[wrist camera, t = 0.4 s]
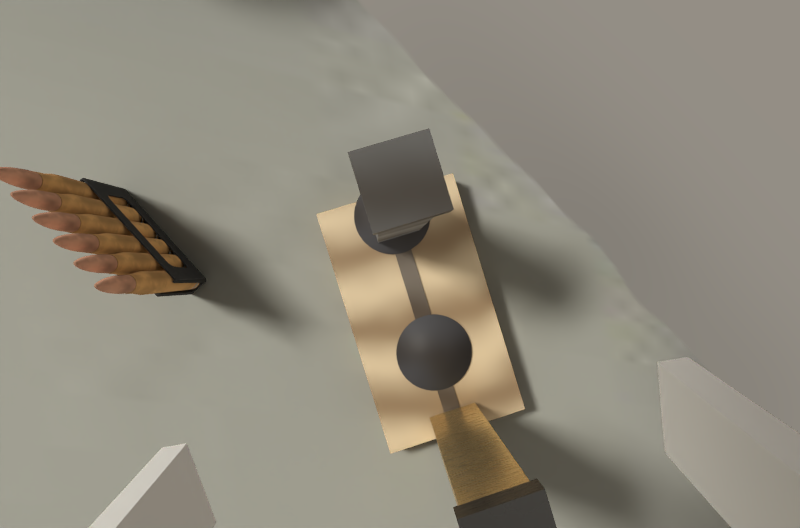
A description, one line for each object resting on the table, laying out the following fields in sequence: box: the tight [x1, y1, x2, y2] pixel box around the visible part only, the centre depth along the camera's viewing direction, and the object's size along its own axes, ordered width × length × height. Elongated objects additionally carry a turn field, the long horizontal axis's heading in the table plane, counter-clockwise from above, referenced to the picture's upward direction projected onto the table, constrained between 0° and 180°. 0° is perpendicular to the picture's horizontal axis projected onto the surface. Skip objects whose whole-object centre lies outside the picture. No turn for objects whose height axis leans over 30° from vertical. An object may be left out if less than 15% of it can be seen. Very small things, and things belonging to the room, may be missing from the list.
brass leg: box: [429, 403, 557, 528], centre depth 27 cm, size 5×5×14 cm
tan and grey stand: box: [317, 129, 525, 453], centre depth 28 cm, size 22×12×16 cm, turn 17°
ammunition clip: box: [0, 167, 206, 296], centre depth 29 cm, size 11×2×12 cm, turn 42°
